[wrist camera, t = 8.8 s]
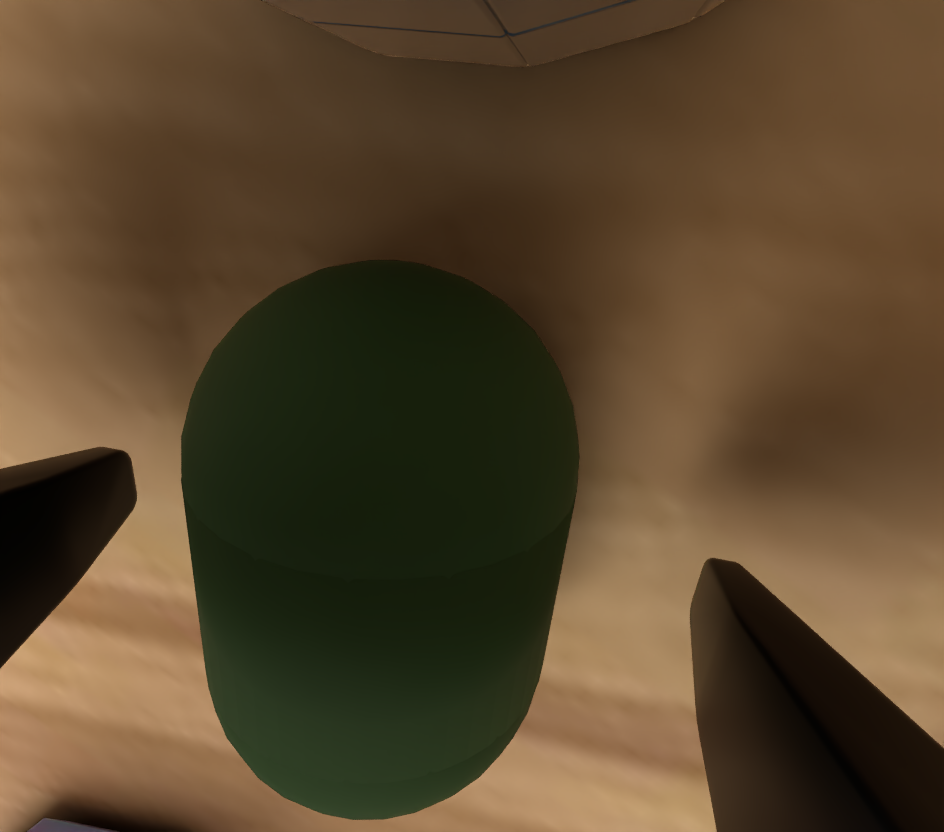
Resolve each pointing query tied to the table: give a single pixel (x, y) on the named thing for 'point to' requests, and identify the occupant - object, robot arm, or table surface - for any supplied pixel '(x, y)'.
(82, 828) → the lantern
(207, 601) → the green rounded cylinder
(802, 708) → the robot arm
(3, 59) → the table surface
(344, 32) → the bowl
